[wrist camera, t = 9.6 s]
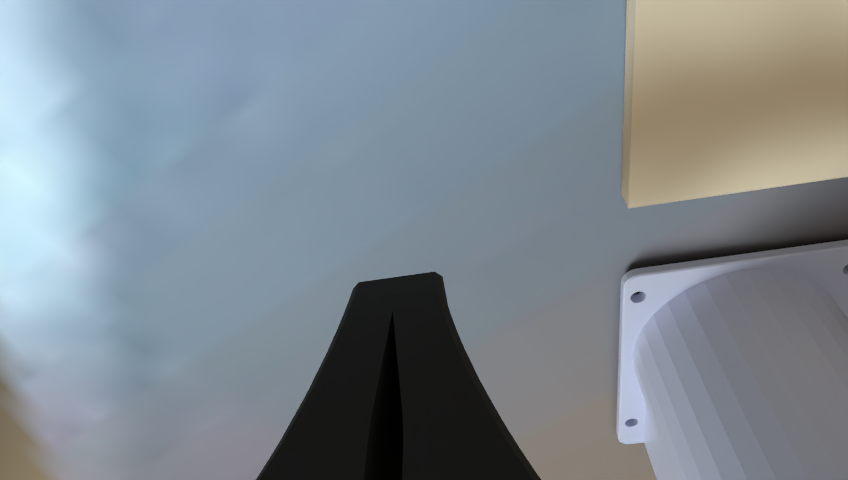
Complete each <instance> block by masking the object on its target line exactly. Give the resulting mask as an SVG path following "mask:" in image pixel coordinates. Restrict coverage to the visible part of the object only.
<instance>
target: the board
mask: <svg viewBox="0 0 848 480" xmlns="http://www.w3.org/2000/svg"><path fill="white" fill-rule="evenodd" d="M843 177H848V0H627V18H626V53H625V88H624V123H623V158H622V195H623V198H624V200H625V202H626V204H627V206H628V208H634V207H641V206H648V205H655V204H662V203H669V202H676V201H683V200H690V199H697V198H704V197H710V196H717V195H724V194H731V193H738V192H745V191H752V190H759V189H766V188H773V187H780V186H787V185H794V184H801V183H808V182H815V181H822V180H829V179H836V178H843Z"/></svg>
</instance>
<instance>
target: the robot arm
mask: <svg viewBox="0 0 848 480" xmlns="http://www.w3.org/2000/svg"><path fill="white" fill-rule="evenodd" d="M846 265H848V240H841V241H834V242H827V243H819V244H812V245H805V246H797V247H790V248H783V249H775V250H768V251H761V252H754V253H746V254H739V255H732V256H724V257H717V258H710V259H703V260H695V261H688V262H681V263H673V264H666V265H659V266H651V267H644V268H637V269H633V270H630V271H629V272H627V273H625V275H624V276H623V277H622V280H621V299H620V331H619V363H618V396H617V428H616V432H617V436H618V439H619V441H620V442H621V443H624V444H635V443H643V442H644V443H645V446H646V449H647V452H648V455H649V458H650V461H651V464H652V467H653V470H654V473H655V475H656V478H657V480H848V266H846ZM635 292H640V293H639V294H636V295H632V294H634V293H635ZM256 480H541V479H540V478H539V476H538V475H537V473H536V472H535V470H534V469H533V468H532V466H531V465H530V463H529V462H528V460H527V459H526V457H525V456H524V454H523V453H522V451H521V450H520V448H519V446H518V445H517V443H516V442H515V440H514V439H513V437H512V435H511V434H510V432H509V431H508V429H507V427H506V426H505V424H504V422H503V421H502V419H501V417H500V416H499V414H498V412H497V410H496V409H495V407H494V405H493V403H492V402H491V400H490V398H489V396H488V395H487V393H486V391H485V389H484V387H483V385H482V383H481V382H480V380H479V378H478V376H477V374H476V372H475V370H474V367H473V365H472V363H471V361H470V359H469V357H468V355H467V353H466V351H465V349H464V347H463V344H462V342H461V340H460V337H459V335H458V333H457V330H456V327H455V325H454V322H453V319H452V317H451V314H450V311H449V308H448V304H447V298H446V293H445V288H444V282H443V277H442V276H441V275H439V274H437V273H436V272H430V273H422V274H415V275H408V276H401V277H394V278H387V279H379V280H372V281H365V282H359V283H358V284H357V285H356V286H355V287H354V288H353V291H352V294H351V297H350V299H349V302H348V305H347V307H346V310H345V312H344V315H343V317H342V320H341V322H340V325H339V327H338V329H337V332H336V334H335V336H334V338H333V341H332V343H331V345H330V347H329V349H328V352H327V354H326V356H325V358H324V360H323V362H322V364H321V366H320V368H319V370H318V372H317V374H316V376H315V378H314V380H313V382H312V384H311V386H310V388H309V390H308V392H307V394H306V396H305V398H304V400H303V402H302V403H301V405H300V407H299V409H298V410H297V412H296V414H295V416H294V417H293V419H292V421H291V423H290V425H289V426H288V428H287V430H286V432H285V433H284V435H283V437H282V439H281V441H280V442H279V444H278V446H277V447H276V449H275V450H274V452H273V454H272V455H271V457H270V459H269V460H268V462H267V463H266V465H265V466H264V468H263V470H262V471H261V473H260V474H259V476H258V477H257V479H256Z"/></svg>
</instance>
